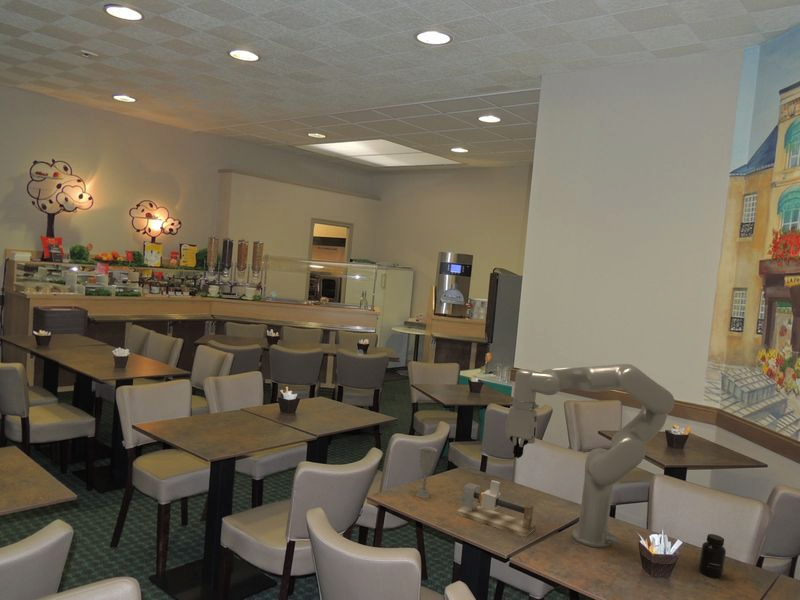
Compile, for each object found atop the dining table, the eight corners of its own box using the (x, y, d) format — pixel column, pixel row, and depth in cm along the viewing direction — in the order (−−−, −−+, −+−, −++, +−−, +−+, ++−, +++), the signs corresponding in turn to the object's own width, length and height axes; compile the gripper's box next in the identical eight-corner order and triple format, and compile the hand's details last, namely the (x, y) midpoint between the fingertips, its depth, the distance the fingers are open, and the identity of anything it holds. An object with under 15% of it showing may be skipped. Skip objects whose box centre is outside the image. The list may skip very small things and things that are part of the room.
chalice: (415, 490, 247) (420, 445, 246) (432, 493, 246) (437, 448, 245) (413, 497, 240) (418, 450, 239) (430, 500, 239) (436, 453, 238)
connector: (484, 510, 230) (487, 487, 229) (478, 514, 226) (481, 491, 225) (467, 505, 234) (470, 482, 233) (461, 508, 229) (464, 485, 229)
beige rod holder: (535, 528, 222) (538, 503, 222) (525, 537, 214) (528, 511, 213) (468, 506, 236) (471, 483, 235) (456, 514, 227) (459, 489, 227)
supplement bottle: (711, 579, 197) (716, 542, 197) (693, 569, 204) (698, 533, 203) (727, 577, 200) (732, 540, 199) (709, 567, 206) (714, 531, 206)
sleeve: (499, 507, 227) (502, 481, 226) (493, 510, 223) (496, 484, 222) (486, 503, 230) (489, 477, 229) (480, 506, 225) (483, 480, 225)
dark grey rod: (526, 513, 220) (527, 507, 220) (524, 514, 218) (525, 509, 218) (471, 495, 231) (472, 490, 231) (469, 497, 229) (470, 491, 229)
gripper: (547, 408, 219) (541, 460, 220) (507, 399, 227) (501, 449, 228) (540, 411, 213) (534, 464, 214) (499, 402, 221) (493, 453, 222)
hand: (517, 456), depth 221 cm, fingers closed
